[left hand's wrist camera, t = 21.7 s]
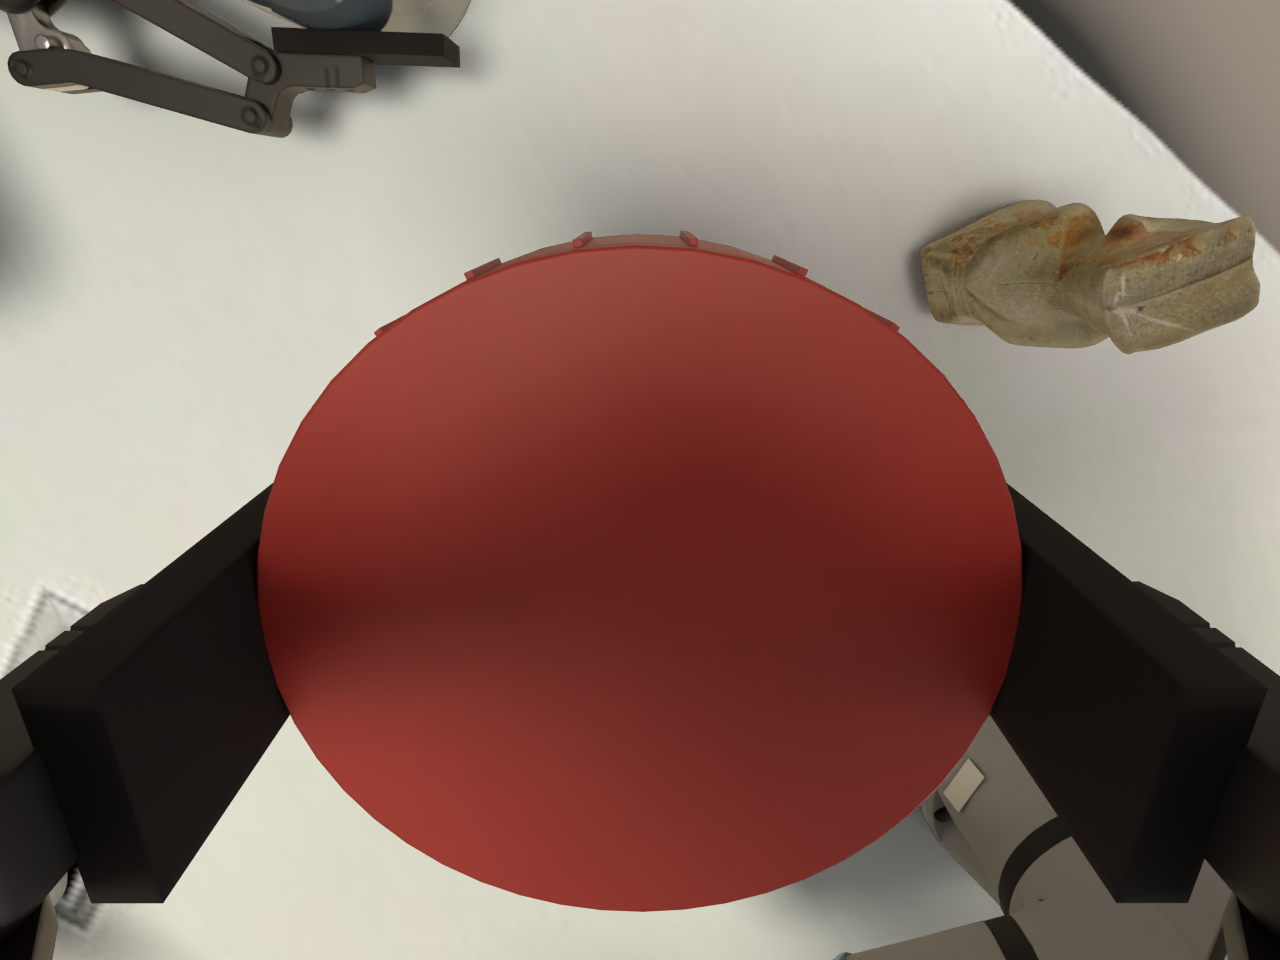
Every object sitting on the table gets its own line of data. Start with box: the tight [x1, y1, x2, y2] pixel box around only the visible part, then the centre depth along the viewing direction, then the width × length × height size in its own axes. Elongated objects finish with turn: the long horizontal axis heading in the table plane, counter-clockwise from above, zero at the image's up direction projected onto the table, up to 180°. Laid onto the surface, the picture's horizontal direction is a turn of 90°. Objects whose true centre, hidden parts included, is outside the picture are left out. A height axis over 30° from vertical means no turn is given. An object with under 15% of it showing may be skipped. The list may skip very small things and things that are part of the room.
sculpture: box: [920, 200, 1260, 354], centre depth 31 cm, size 6×7×15 cm
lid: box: [257, 231, 1023, 912], centre depth 11 cm, size 10×10×2 cm
